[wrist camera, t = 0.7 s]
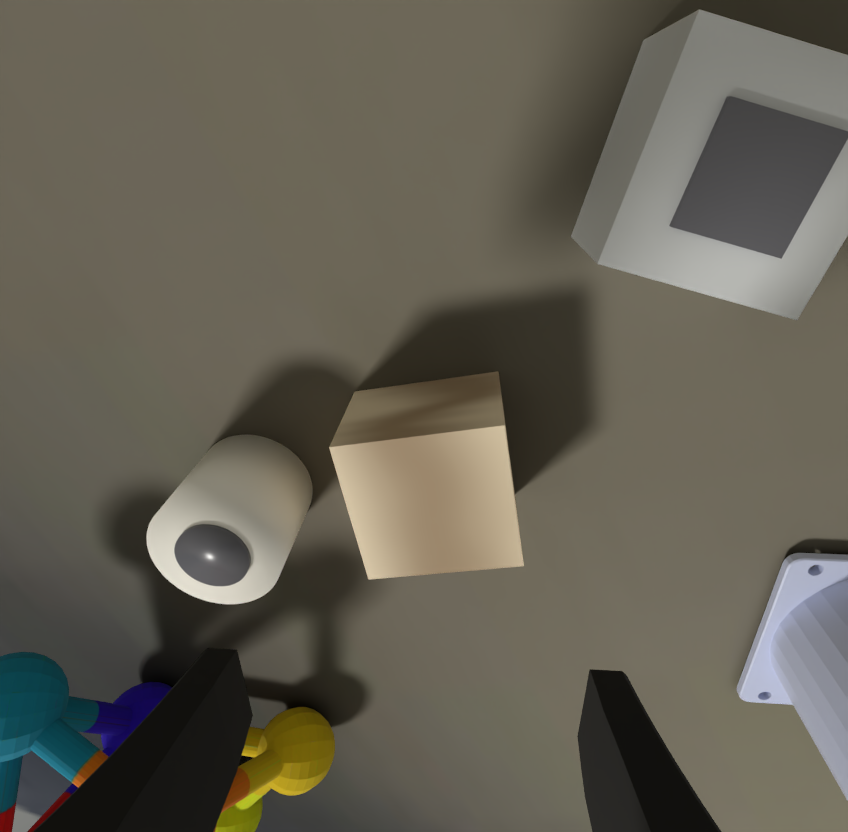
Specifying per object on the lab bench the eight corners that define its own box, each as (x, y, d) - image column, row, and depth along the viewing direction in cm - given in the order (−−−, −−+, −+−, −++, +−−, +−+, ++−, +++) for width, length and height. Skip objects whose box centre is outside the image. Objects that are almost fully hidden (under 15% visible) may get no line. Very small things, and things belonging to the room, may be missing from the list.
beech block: (498, 369, 19) (504, 425, 15) (514, 492, 21) (523, 565, 17) (355, 389, 19) (329, 447, 16) (385, 505, 21) (368, 579, 18)
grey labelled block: (823, 95, 14) (946, 82, 11) (727, 280, 17) (801, 322, 13) (642, 40, 14) (703, 6, 10) (570, 235, 16) (599, 265, 13)
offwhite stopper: (306, 435, 20) (269, 504, 16) (318, 531, 22) (287, 612, 18) (190, 432, 20) (127, 499, 17) (212, 527, 22) (160, 605, 19)
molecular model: (343, 598, 28) (-26, 603, 21) (399, 805, 21) (-131, 927, 14) (261, 752, 35) (-41, 798, 27) (282, 948, 28) (-116, 1083, 20)
